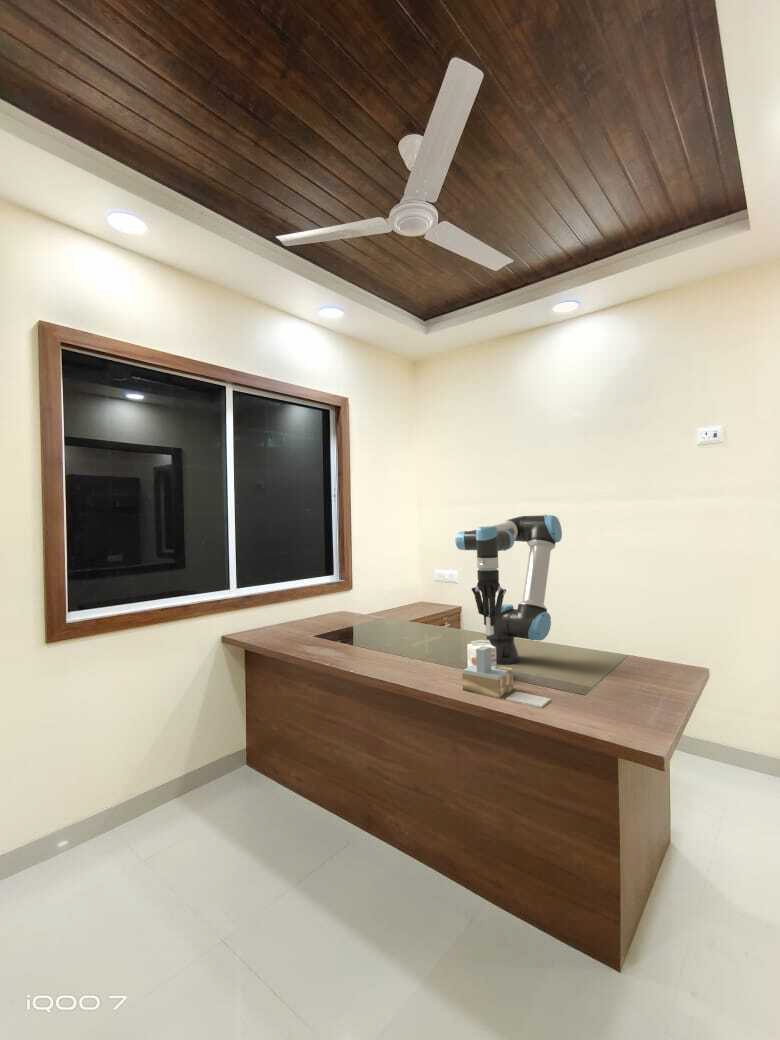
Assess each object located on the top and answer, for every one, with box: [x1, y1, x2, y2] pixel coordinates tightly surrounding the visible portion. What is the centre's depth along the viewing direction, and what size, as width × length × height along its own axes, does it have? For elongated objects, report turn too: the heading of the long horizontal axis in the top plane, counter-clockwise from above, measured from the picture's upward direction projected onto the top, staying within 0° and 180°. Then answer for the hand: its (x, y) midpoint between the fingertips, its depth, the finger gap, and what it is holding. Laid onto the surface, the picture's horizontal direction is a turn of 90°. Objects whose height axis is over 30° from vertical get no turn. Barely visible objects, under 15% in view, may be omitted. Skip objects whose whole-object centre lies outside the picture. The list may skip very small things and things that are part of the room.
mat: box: [505, 690, 551, 709], centre depth 157 cm, size 8×12×1 cm, turn 51°
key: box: [472, 657, 477, 665], centre depth 174 cm, size 2×5×2 cm, turn 51°
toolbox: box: [461, 664, 514, 699], centre depth 168 cm, size 11×14×7 cm
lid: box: [462, 646, 508, 680], centre depth 168 cm, size 9×13×10 cm
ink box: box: [466, 639, 498, 668], centre depth 184 cm, size 9×8×13 cm
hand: (490, 634), depth 172 cm, fingers closed
